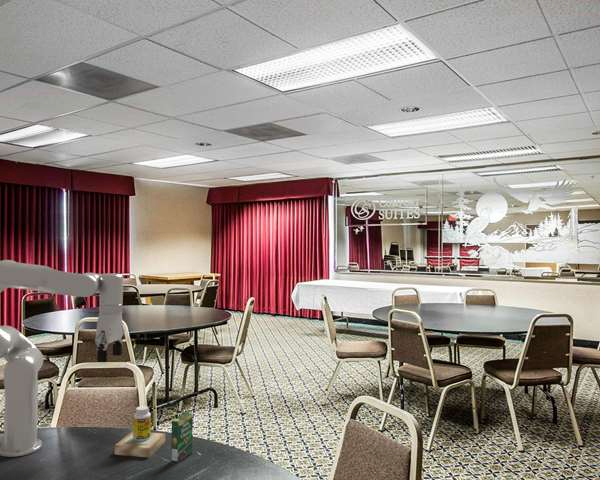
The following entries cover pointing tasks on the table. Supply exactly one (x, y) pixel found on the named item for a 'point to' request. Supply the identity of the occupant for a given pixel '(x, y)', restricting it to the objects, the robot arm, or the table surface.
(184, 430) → the coffee box
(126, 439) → the base
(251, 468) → the table surface
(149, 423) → the supplement bottle
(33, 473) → the table surface
